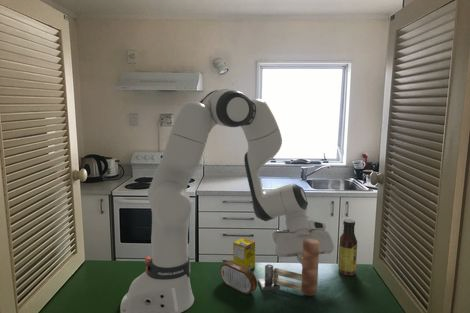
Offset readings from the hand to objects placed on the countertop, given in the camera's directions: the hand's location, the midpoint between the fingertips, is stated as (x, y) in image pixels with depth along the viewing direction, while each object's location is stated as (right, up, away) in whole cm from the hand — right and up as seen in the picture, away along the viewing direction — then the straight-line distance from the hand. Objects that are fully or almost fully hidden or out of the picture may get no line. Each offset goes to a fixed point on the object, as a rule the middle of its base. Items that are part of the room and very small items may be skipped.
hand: (309, 267), depth 115 cm
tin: (-24, -8, +2) cm, 25 cm away
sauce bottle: (+17, -6, +14) cm, 22 cm away
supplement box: (-21, -6, +16) cm, 27 cm away
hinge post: (-13, -7, +4) cm, 16 cm away
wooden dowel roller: (-5, -7, 0) cm, 8 cm away
